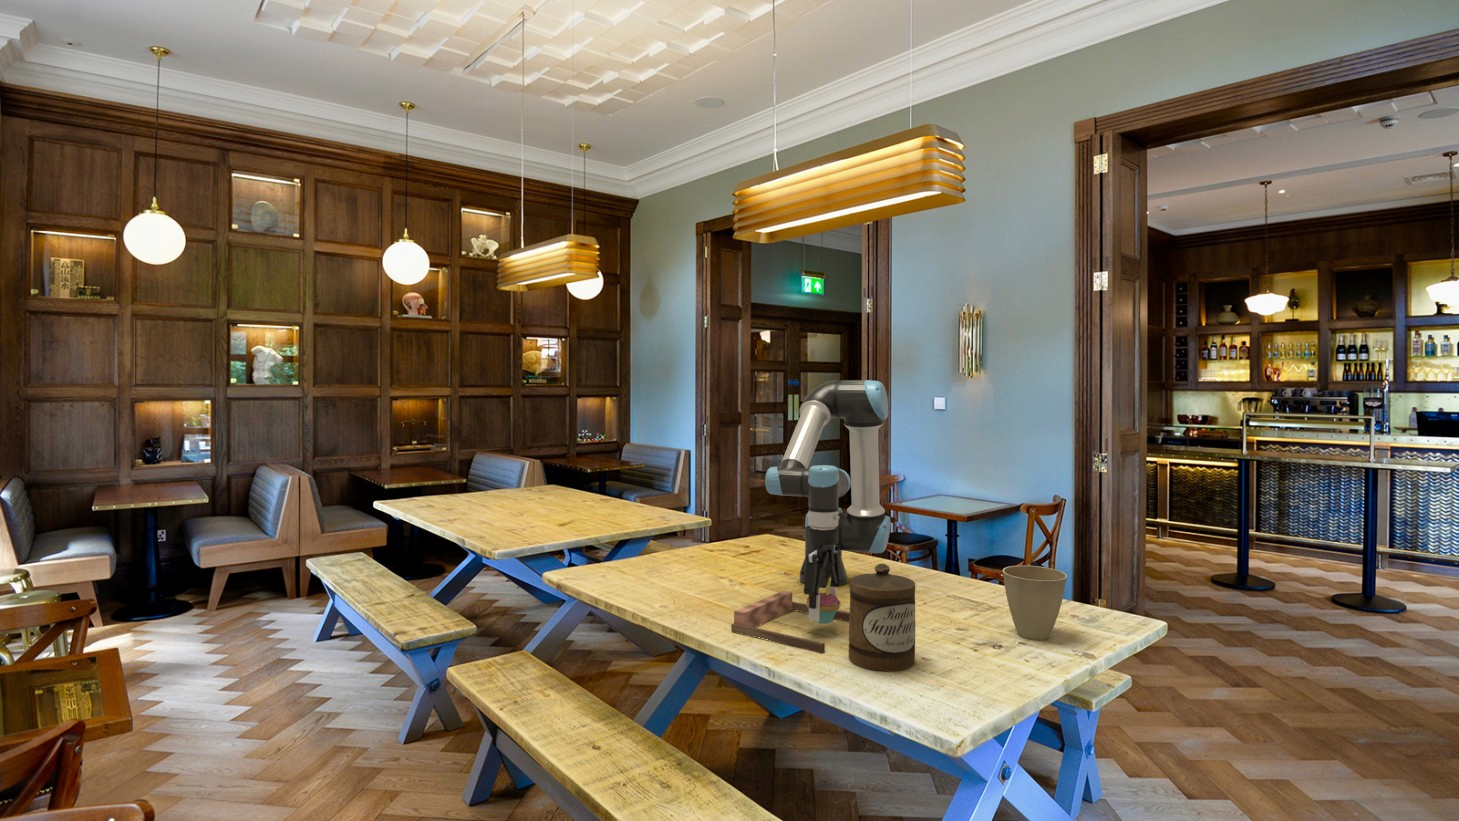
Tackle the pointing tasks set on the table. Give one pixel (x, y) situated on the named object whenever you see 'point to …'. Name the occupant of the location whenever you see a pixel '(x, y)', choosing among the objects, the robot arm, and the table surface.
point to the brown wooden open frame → (771, 609)
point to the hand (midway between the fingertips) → (822, 616)
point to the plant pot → (1034, 599)
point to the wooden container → (882, 621)
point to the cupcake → (827, 606)
